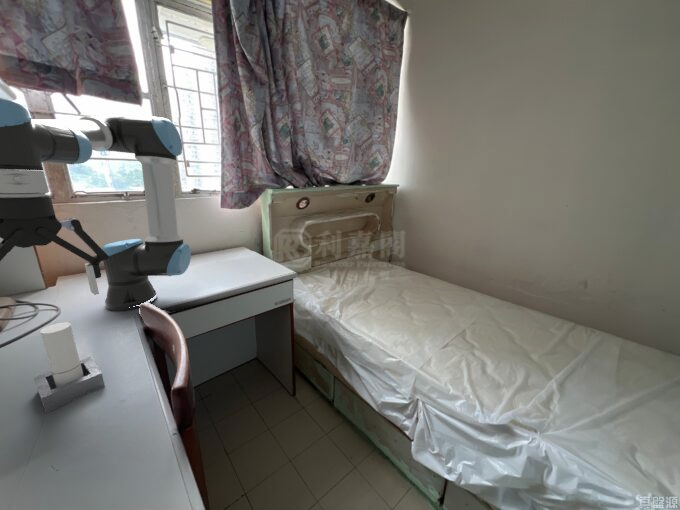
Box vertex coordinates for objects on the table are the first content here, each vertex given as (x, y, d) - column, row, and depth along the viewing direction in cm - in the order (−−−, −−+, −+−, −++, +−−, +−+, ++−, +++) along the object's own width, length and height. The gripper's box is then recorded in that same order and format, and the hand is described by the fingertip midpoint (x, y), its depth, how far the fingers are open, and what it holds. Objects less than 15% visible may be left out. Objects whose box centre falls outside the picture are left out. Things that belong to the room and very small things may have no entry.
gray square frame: (37, 391, 57) (33, 377, 56) (92, 369, 64) (89, 357, 63) (46, 413, 52) (41, 398, 51) (104, 386, 59) (101, 373, 58)
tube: (90, 381, 60) (76, 322, 57) (73, 396, 56) (56, 333, 52) (71, 381, 60) (55, 322, 56) (52, 396, 56) (33, 333, 52)
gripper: (-119, 199, 36) (-60, 338, 41) (114, 194, 55) (132, 289, 61) (-112, 195, 40) (-59, 322, 46) (102, 192, 59) (120, 281, 65)
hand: (50, 303), depth 53 cm, fingers open, 13 cm apart
